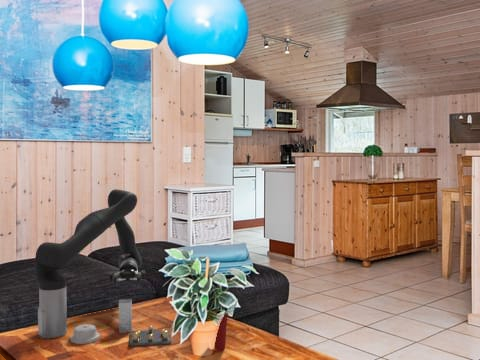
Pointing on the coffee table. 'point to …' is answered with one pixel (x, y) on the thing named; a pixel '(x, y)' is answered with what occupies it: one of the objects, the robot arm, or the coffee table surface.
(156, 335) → the pin plate
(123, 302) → the block
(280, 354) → the coffee table surface
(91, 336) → the mechanical component
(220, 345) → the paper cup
